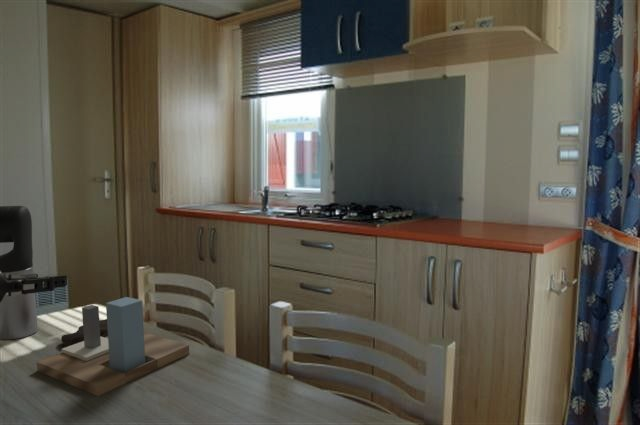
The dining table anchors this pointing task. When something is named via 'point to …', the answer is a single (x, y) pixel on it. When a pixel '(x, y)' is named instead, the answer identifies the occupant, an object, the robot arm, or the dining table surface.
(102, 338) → the lid
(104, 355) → the board
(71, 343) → the stone
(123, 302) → the block
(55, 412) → the dining table surface
